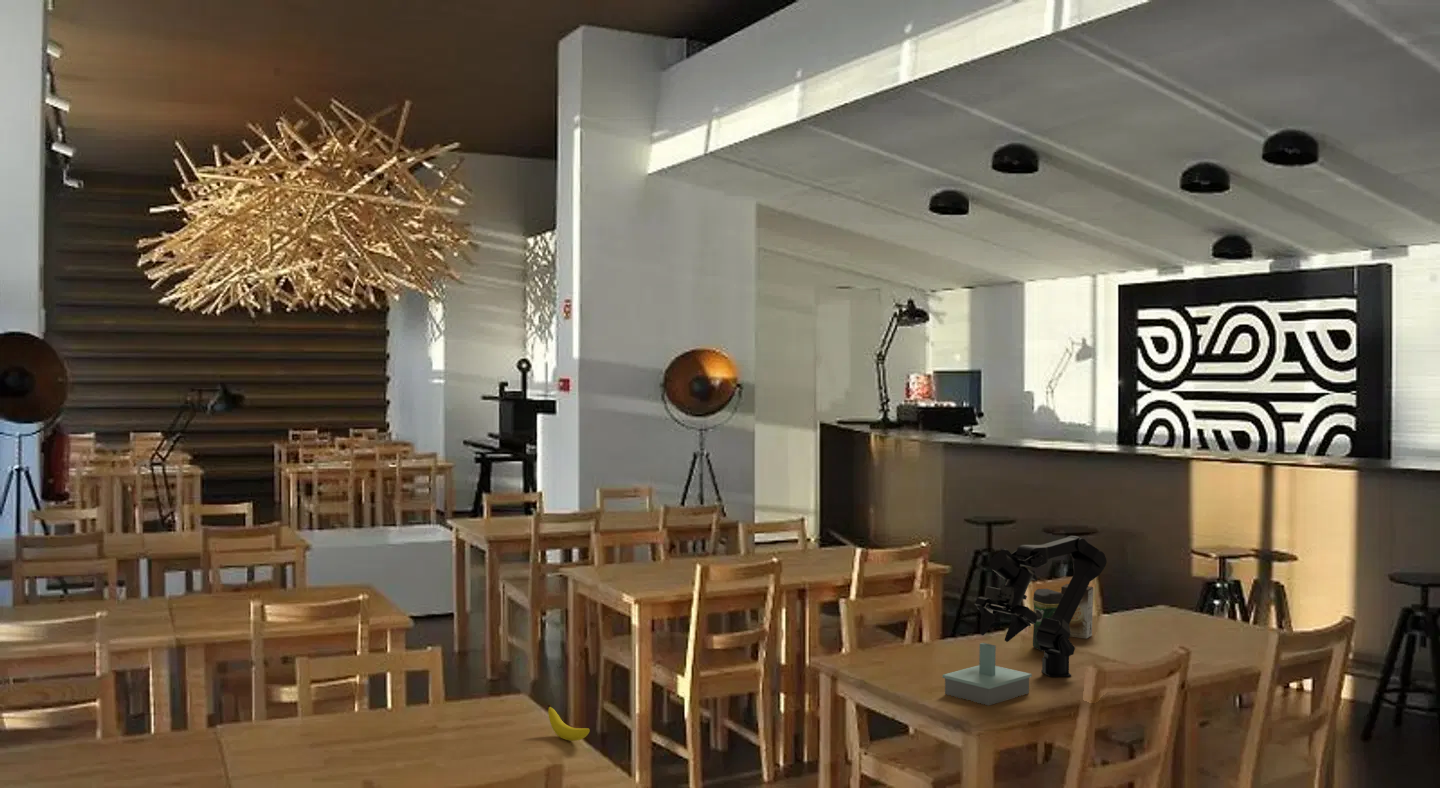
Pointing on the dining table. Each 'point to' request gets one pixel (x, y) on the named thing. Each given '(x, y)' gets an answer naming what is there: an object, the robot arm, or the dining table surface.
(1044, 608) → the coffee jar
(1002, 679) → the lid
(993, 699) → the tub
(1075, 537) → the robot arm
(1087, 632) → the coffee box
